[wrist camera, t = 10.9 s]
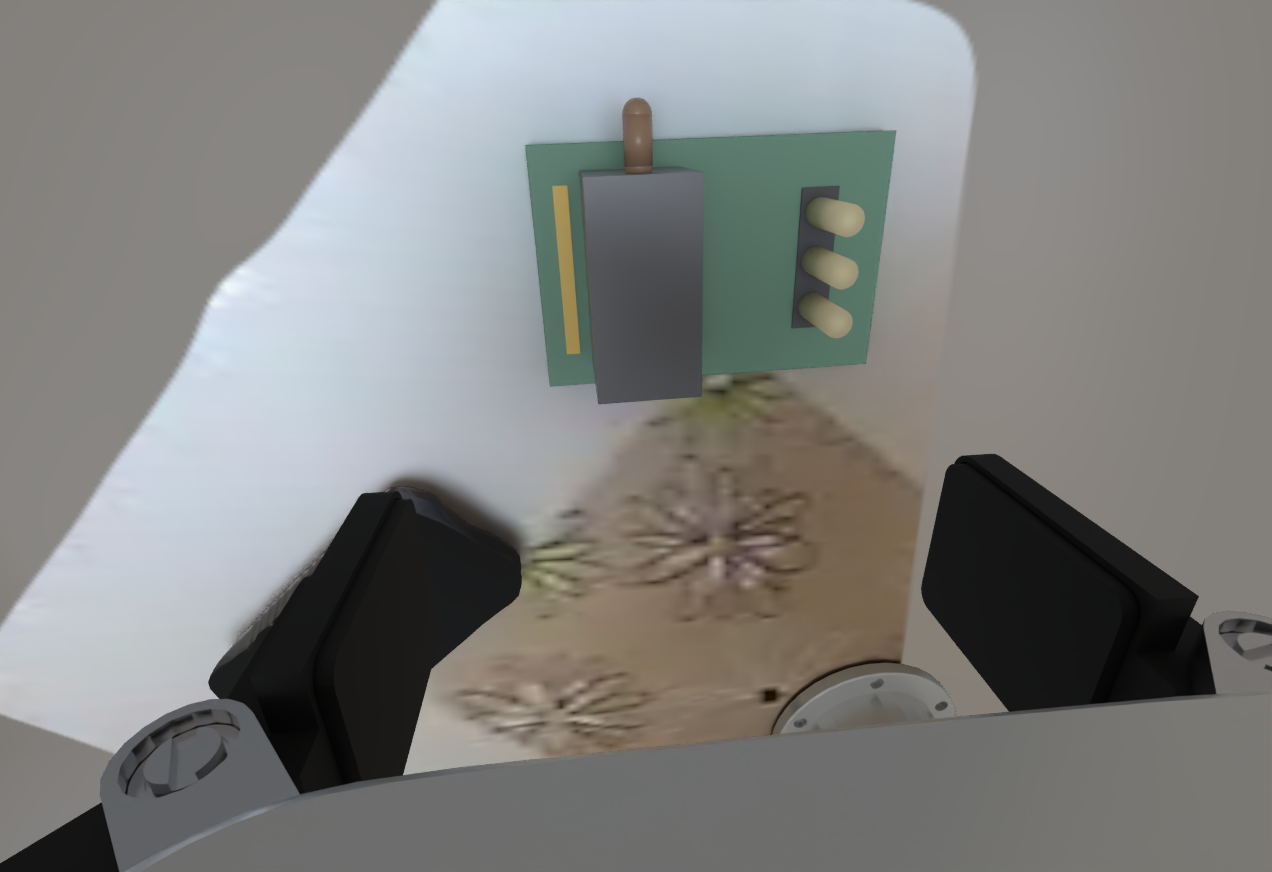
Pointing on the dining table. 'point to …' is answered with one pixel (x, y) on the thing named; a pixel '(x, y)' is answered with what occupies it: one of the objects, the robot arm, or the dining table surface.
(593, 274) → the plug housing
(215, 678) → the black sponge
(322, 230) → the dining table surface
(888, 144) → the header board
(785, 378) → the dining table surface
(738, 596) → the dining table surface
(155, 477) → the dining table surface
